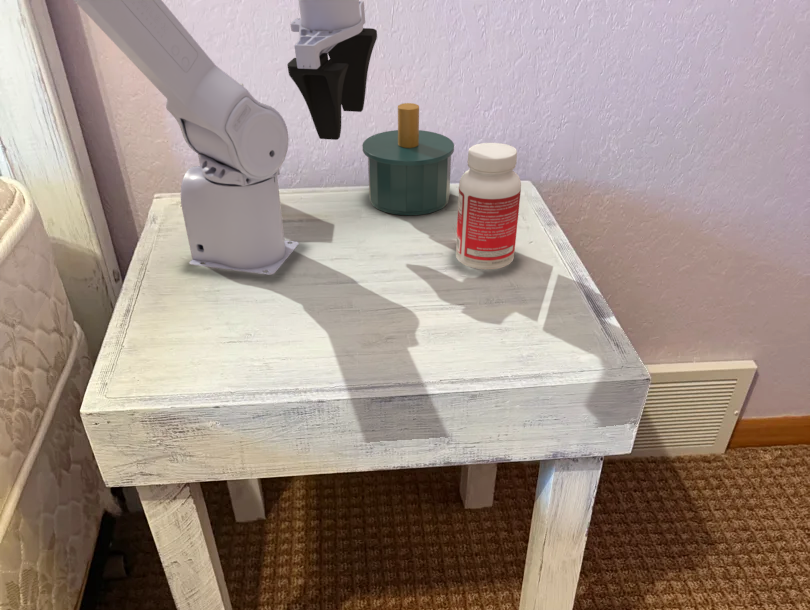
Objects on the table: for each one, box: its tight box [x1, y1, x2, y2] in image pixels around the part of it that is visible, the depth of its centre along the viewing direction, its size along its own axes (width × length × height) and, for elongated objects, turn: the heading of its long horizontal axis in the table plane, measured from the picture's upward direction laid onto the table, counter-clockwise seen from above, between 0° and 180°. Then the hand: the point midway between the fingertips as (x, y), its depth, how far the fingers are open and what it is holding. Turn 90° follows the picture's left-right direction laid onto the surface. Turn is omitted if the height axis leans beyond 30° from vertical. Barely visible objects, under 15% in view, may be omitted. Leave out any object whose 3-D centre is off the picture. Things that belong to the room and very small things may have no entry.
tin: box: [367, 155, 452, 216], centre depth 91 cm, size 10×10×6 cm
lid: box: [361, 102, 455, 166], centre depth 87 cm, size 11×11×5 cm
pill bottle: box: [455, 142, 522, 270], centre depth 77 cm, size 6×6×11 cm
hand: (341, 123), depth 80 cm, fingers open, 7 cm apart
